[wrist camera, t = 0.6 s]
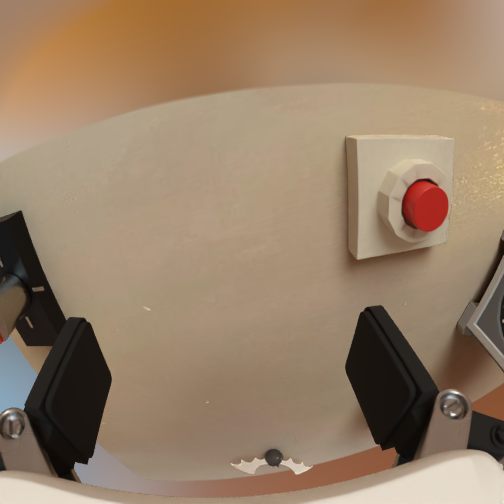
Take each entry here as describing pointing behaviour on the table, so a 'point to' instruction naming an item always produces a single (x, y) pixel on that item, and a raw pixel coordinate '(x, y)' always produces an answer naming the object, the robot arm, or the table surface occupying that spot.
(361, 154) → the switch box
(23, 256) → the panel
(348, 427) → the table surface
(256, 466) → the bat toy
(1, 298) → the knob
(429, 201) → the power button
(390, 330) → the robot arm
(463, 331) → the alarm clock
